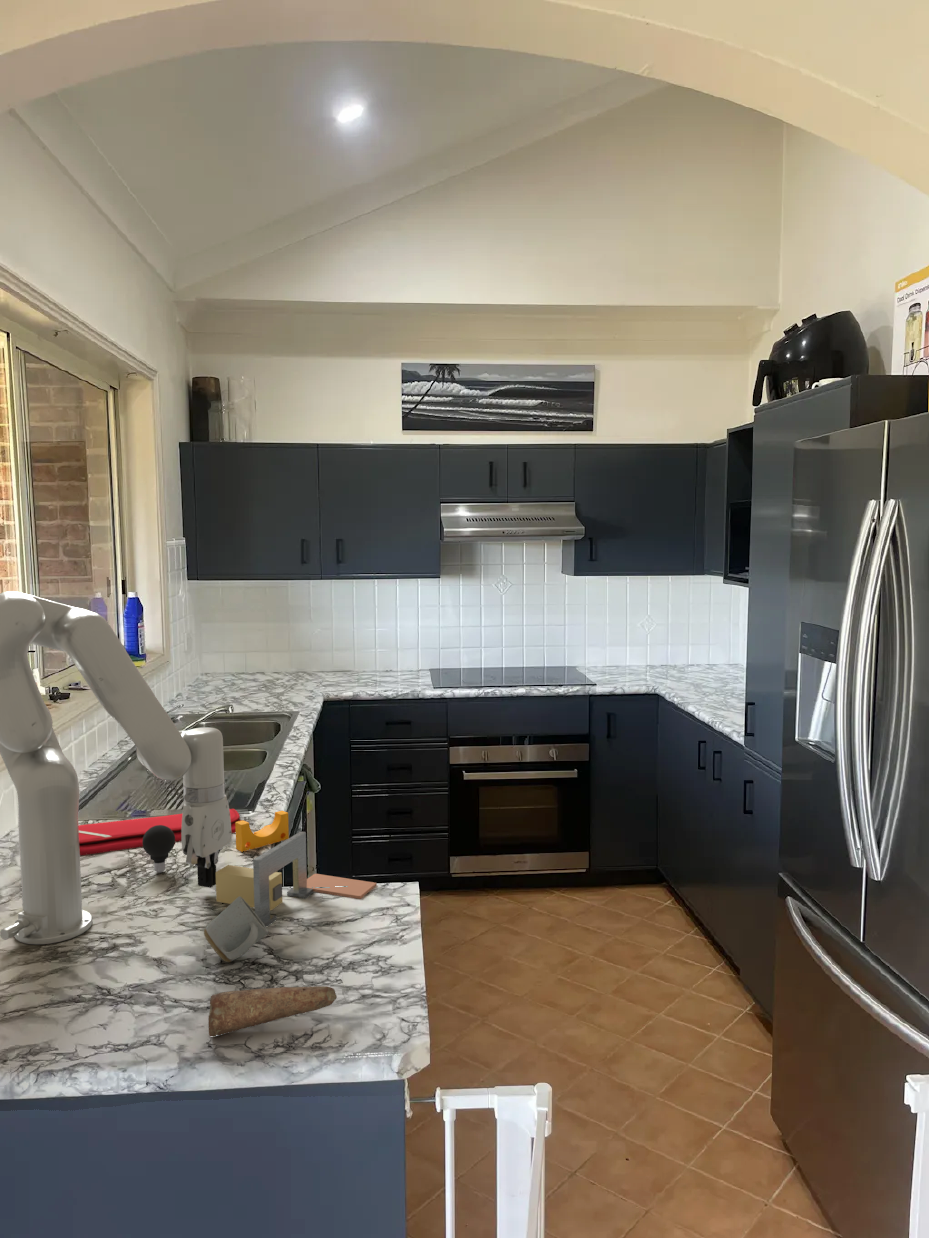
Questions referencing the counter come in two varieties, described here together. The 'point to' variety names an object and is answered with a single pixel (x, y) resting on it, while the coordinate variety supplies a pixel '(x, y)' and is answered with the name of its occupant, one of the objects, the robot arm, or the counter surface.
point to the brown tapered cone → (263, 1006)
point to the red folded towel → (129, 832)
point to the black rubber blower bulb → (159, 845)
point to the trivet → (353, 890)
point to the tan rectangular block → (245, 886)
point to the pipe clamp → (262, 833)
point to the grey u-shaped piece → (273, 862)
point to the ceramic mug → (235, 930)
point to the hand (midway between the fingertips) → (207, 884)
